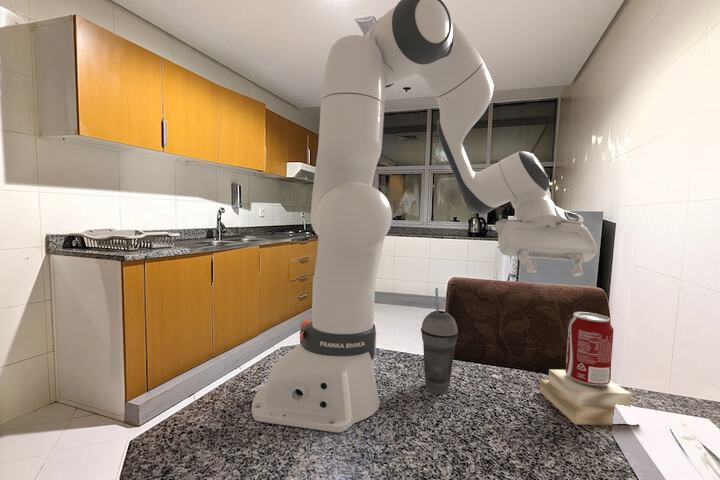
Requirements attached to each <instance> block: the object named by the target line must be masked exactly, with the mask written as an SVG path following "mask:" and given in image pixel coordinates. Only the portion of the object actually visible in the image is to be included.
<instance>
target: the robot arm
mask: <svg viewBox="0 0 720 480" xmlns="http://www.w3.org/2000/svg"><path fill="white" fill-rule="evenodd" d="M448 9H449V8H447V5H445V3H444V1H442V0H400V1H399V2H398V3H397V4H396V5H395V6H394V7H393V8H391V9H390V10H388V11H387V12H386V13H385V14H384V15H383V16H381V17H380V18H378V19H377V20H376V21H375V22H374V24H373V25H372V26H371V27H370V28H369V30H368V31H367V32H366V33H365V34H364V35H360V34H358V35H357V34H351V35H344V36H343V37H342V36H341V38H339V39H338V40H336V41H335V42H334V43H333V44H332V46H331V48H330V50H329V53H328V57H327V59H326V60H327V61H326V63H325V64H326V65H325V70H324V73H323V74H324V75H323V78H322V79H323V81H322V87H321V88H322V89H321V95H320V96H321V99H320V113H319V130H318V145H317V147H318V148H317V156H316V163H315V169H314V180H313V187H312V193H311V194H312V196H311V205H310V224H311V227H312V230H313V232H314V233H315V234H316V236H317V247H316V256H315V257H316V259H315V266H314V275H313V277H312V300H311V305H312V306H311V320H310V319H309V318H308V319H306V318H305V319H304V320H303V321H302V322H301V323H300V330H299V344H298V345H297V346H295V347H294V348H292V349H290V351H289V350H288V352H287V353H285V354H283V356H281V357H280V358H278V360H277V361H276V362H275V363H274V364H273V366H272V368H271V369H270V371H269V374H268V377H267V380H266V382H265V383H263V384H262V386H261V387H260V388H259V389H258V390H257V392H256V393H255V395H254V397H253V400H252V403H251V410H250V411H251V412H250V413H251V415H252V418H253V420H254V421H256V422H260V423H262V422H263V423H268V424H273V425H281V426H290V427H297V428H304V429H311V430H317V431H324V432H330V433H342V432H345V431H347V430H348V429H349V428H351V426H352V425H354V424H355V423H358V422H360V421H364V420H366V419H367V418H369V417H371V416H373V415H374V414H375V413H376V412H377V411H378V409H379V407H380V405H381V401H380V400H381V399H380V396H379V393H378V388H377V381H376V374H375V365H374V363H375V361H374V359H375V355H376V349H377V347H376V346H377V331H376V330H377V329H376V325H375V323H374V320H375V319H374V318H375V317H374V316H375V297H376V295H375V291H376V282H377V274H378V269H379V265H380V261H381V256H382V251H383V246H384V242H385V238H386V236H387V235H388V232H389V231H390V229H391V225H392V220H393V213H392V212H393V211H392V207H391V204H390V202H389V200H388V199H387V197H386V196H385V195H384V194H383V192H382V191H380V190H378V189H377V188H376V187H374V186H373V181H374V178H375V174H376V169H377V165H378V163H379V160H380V157H381V154H382V150H383V149H382V147H383V133H384V118H385V116H384V115H385V105H386V104H385V103H386V102H385V101H386V89H387V88H390V87H392V86H393V85H395V84H397V83H398V82H401V81H403V80H405V79H407V78H410V77H412V76H414V75H415V74H416V75H419V76H420V77H421V78H423V79H424V81H425V83H426V85H427V87H428V89H429V91H430V93H431V94H432V96H433V97H434V99H435V100H436V102H437V106H438V108H439V118H438V119H437V121H436V132H437V136H438V139H439V142H440V144H441V148H442V150H443V152H444V155H445V157H446V159H447V162H448V164H449V167H450V168H451V171H452V173H453V176H454V178H455V181H456V183H457V186H458V188H459V191H460V195H461V197H462V201H463V203H464V205H465V206H466V208H467V209H468V210H469V211H470V212H471V213H474V214H475V213H476V214H479V215H486V214H488V213H490V212H491V211H494V210H496V209H498V207H501V206H503V205H505V204H507V203H510V204H511V207H512V208H513V209H514V217H515V219H507V218H501V219H499V220H497V221H495V225H494V227H495V231H496V233H497V234H498V237H497V240H498V243H497V244H498V249H499V252H500V253H501V254H502V255H504V256H507V257H510V256H511V257H517V259H518V261H520V263H521V264H522V265H524V266H525V268H526V272H527V273H531V274H533V273H534V274H535V273H537V272H538V269H539V267H538V264H537V261H532V258H536V259H547V260H548V259H549V260H560V261H570V262H571V264H574V265H572V267H571V268H570V269H569V271H570V273H571V276H573V277H581V276H583V274H584V269H583V267H582V266H583V263H584V262H585V263H586V262H590V261H591V260H592V259H593V258H594V257H595V256H596V255H597V253H598V252H599V250H598V245H597V242H596V241H595V239H594V237H593V235H592V233H591V232H590V230H589V229H588V228H587V227H586V226H585V225H583V224H584V222H585V220H584V217H583V216H581V215H580V214H577V213H574V212H571V211H567V210H565V209H563V208H560V207H559V206H556V204H555V202H554V201H553V200H552V199H551V198H552V197H551V196H552V194H551V191H550V188H549V187H550V179H549V176H548V174H547V172H546V169H545V167H544V164H543V163H542V161H541V160H540V158H539V157H538V156H537V155H536V154H535V153H531V152H529V151H524V150H519V151H517V152H515V153H513V154H510V155H509V156H506V157H505V158H503V159H502V158H501V160H499V161H498V162H496V163H493V164H492V165H489V166H488V167H486V168H484V169H482V170H479V171H475V170H473V167H472V165H471V162H470V161H469V157H468V155H467V152H466V151H465V147H464V144H463V142H464V139H465V138H466V136H467V135H468V133H469V132H470V131H471V129H473V127H474V125H476V123H477V122H478V121H479V120H480V119H481V117H482V116H483V115H484V114H485V112H486V110H487V109H488V107H489V105H490V103H491V100H492V98H493V93H494V83H493V80H492V77H491V74H490V72H489V71H488V68H487V66H486V64H485V62H484V60H483V59H482V56H481V55H480V54H479V52H478V50H477V49H476V48H475V46H474V44H473V43H472V42H471V40H470V39H469V38H468V36H467V35H466V34H465V32H464V31H463V30H462V29H461V28H460V27H459V26H458V25H457V24H456V23H455V22H453V20H452V16H451V14H450V12H449V10H448Z"/></svg>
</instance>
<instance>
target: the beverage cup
mask: <svg viewBox="0 0 720 480" xmlns="http://www.w3.org/2000/svg"><path fill="white" fill-rule="evenodd" d="M434 292H435V310H433V311H431V312H429V313H428V314H427V315H426V316H425V317H424V319H423V320H422V323H421V328H420V332H421V340H422V342H423V343H422V345H423V346H422V347H423V348H422V349H423V365H424V366H423V368H424V370H423V371H424V382H425V384H424V385H425V389H426V390H427V392H430V393H432V394H438V395H439V394H442V395H443V394H446V393H448V392H449V387H450V383H451V375H452V370H453V362H454V355H455V348H456V344H457V340H458V335H459V332H458V331H459V330H458V325H457V322H456V320H455V319H454V317H453V316H452V315H451V314H450V313H448V312H446V311H444V310H440V307H439V306H440V305H439V303H440V302H439V288H438V287H435V289H434Z"/></svg>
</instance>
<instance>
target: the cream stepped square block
mask: <svg viewBox="0 0 720 480" xmlns="http://www.w3.org/2000/svg"><path fill="white" fill-rule="evenodd" d="M539 393H540V394H542V395H543V396H544V397H545V399H547V400H548V401H549V402H551V404H552V405H554V407H556V408H557V409H558V410H559V411H560V412H561V414H563V415H564V416H566V417H567V418H568V419H569V420H570V421H571V422H572V423H573V424H574V425H597V426H613V425H612V424H613V416H614V409H615V405H616V404H618V405H624V406H629V407H635V406H634V405H632V404H631V403H632V402H631V399H632V393H631V392H630V391H628V390H627V389H625V388H623V387H621V386H620V385H619V384H617V383H615V382H613V381H612V380H610V383H609V384H608V385H606V386H601V387H590V386H586V385H582V384H580V383H577V382H575V381H574V380H572V379H571V378H570V377H569V376H567V374H566V369H550V368H549V369H548V379H540V381H539Z"/></svg>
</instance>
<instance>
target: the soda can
mask: <svg viewBox="0 0 720 480" xmlns="http://www.w3.org/2000/svg"><path fill="white" fill-rule="evenodd" d="M572 314H573V316H572V318H571V319H570V320H569V321H568V329H567V331H568V332H567V345H566V360H565V370H566V374H567V376H569V377H570V378H571V379H572V380H574V381H575V382H577V383H580V384H582V385H586V386H590V387H601V386H606V385H608V384H609V383H610V381H611V371H612V359H613V358H612V357H613V342H614V341H613V340H614V328H613V326H612V324H611V323H610V319H611V318H610V317H608V316H606V315H603V314H599V313H593V312H588V311H587V312H586V311H576V312H573V313H572Z"/></svg>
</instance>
